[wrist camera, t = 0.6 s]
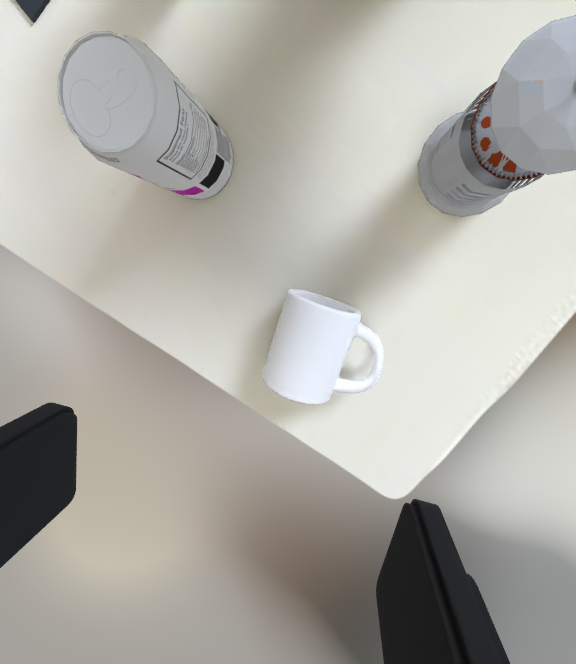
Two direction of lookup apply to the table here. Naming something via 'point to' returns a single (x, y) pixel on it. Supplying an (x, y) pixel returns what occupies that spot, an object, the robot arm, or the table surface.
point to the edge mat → (32, 7)
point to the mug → (317, 349)
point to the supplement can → (141, 116)
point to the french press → (508, 128)
